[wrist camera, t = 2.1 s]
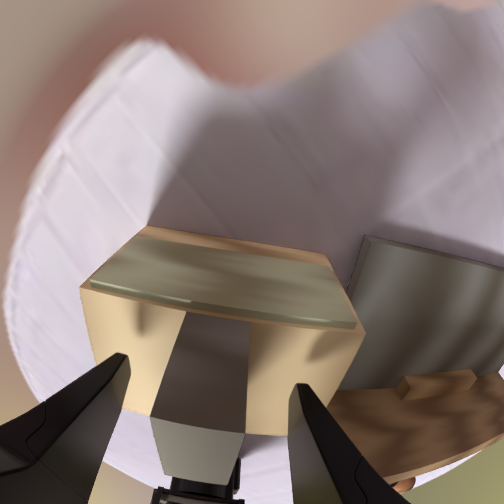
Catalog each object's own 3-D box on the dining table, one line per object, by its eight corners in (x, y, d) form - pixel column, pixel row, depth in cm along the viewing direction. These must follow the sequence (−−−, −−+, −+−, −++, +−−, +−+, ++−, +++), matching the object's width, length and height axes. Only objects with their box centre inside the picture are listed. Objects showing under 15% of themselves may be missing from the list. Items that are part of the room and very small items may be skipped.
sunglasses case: (350, 478, 29) (377, 500, 23) (381, 445, 31) (411, 465, 25) (376, 490, 35) (397, 505, 29) (399, 466, 37) (421, 480, 30)
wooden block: (147, 324, 17) (83, 466, 7) (146, 220, 15) (8, 352, 4) (295, 348, 18) (315, 504, 8) (326, 248, 15) (412, 420, 5)
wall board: (301, 398, 20) (313, 497, 12) (364, 235, 14) (456, 337, 6) (483, 382, 21) (513, 433, 13) (541, 279, 16) (591, 323, 7)
